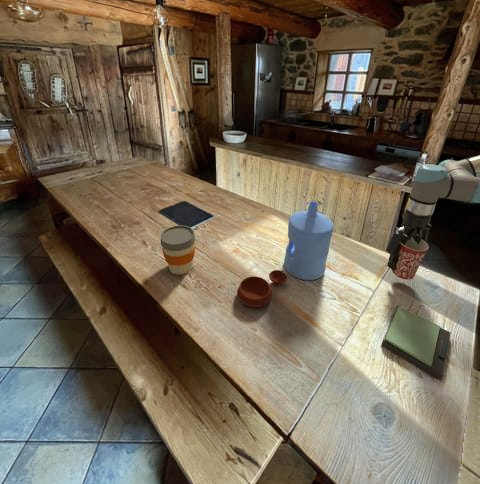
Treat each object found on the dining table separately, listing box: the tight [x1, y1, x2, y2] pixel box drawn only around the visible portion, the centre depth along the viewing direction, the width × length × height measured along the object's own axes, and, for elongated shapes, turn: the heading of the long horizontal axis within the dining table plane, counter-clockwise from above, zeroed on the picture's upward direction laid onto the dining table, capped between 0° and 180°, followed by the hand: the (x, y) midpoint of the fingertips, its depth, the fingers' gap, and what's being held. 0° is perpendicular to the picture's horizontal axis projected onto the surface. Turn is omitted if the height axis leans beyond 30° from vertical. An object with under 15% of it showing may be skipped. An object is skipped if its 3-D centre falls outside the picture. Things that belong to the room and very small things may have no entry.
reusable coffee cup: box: [160, 224, 196, 275], centre depth 100 cm, size 13×13×15 cm
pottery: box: [236, 269, 288, 308], centre depth 91 cm, size 12×20×4 cm, turn 127°
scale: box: [380, 305, 451, 381], centre depth 76 cm, size 14×16×3 cm
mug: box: [391, 234, 430, 281], centre depth 95 cm, size 13×9×14 cm
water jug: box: [283, 201, 334, 281], centre depth 98 cm, size 16×16×28 cm
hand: (400, 265), depth 97 cm, fingers closed on mug, 8 cm apart
